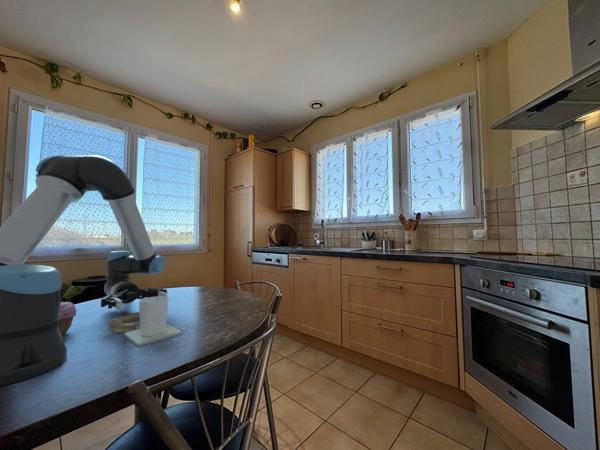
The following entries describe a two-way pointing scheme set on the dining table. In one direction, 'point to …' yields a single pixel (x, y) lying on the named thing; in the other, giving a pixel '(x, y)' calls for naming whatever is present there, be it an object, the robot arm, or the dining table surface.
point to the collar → (122, 326)
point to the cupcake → (66, 316)
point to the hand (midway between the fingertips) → (144, 301)
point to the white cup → (153, 315)
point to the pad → (142, 340)
